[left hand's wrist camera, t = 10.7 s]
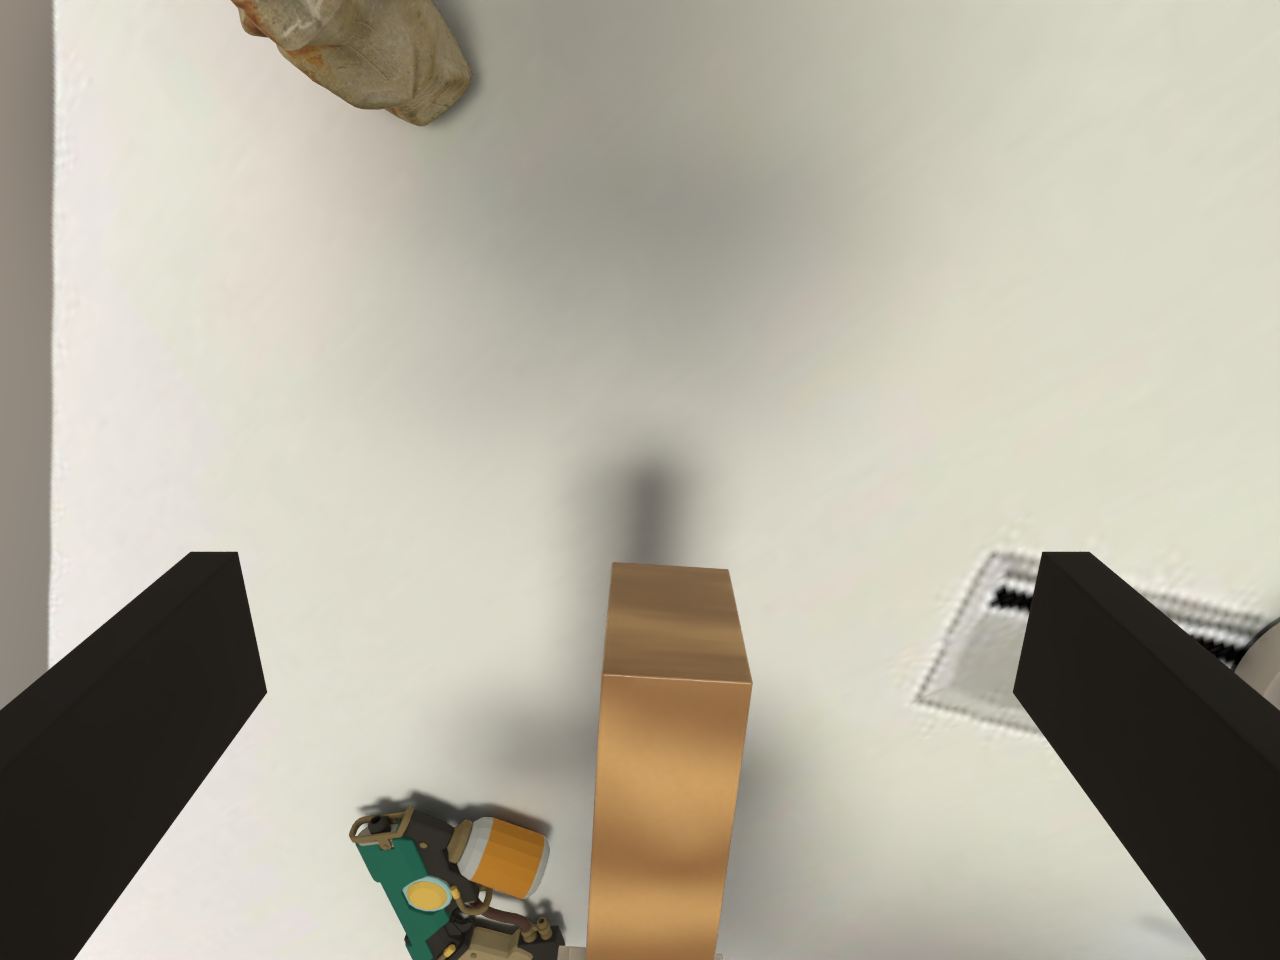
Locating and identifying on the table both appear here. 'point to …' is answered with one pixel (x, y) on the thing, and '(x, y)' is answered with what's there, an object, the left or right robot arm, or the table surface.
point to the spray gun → (458, 883)
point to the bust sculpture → (1263, 666)
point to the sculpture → (368, 51)
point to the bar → (666, 762)
